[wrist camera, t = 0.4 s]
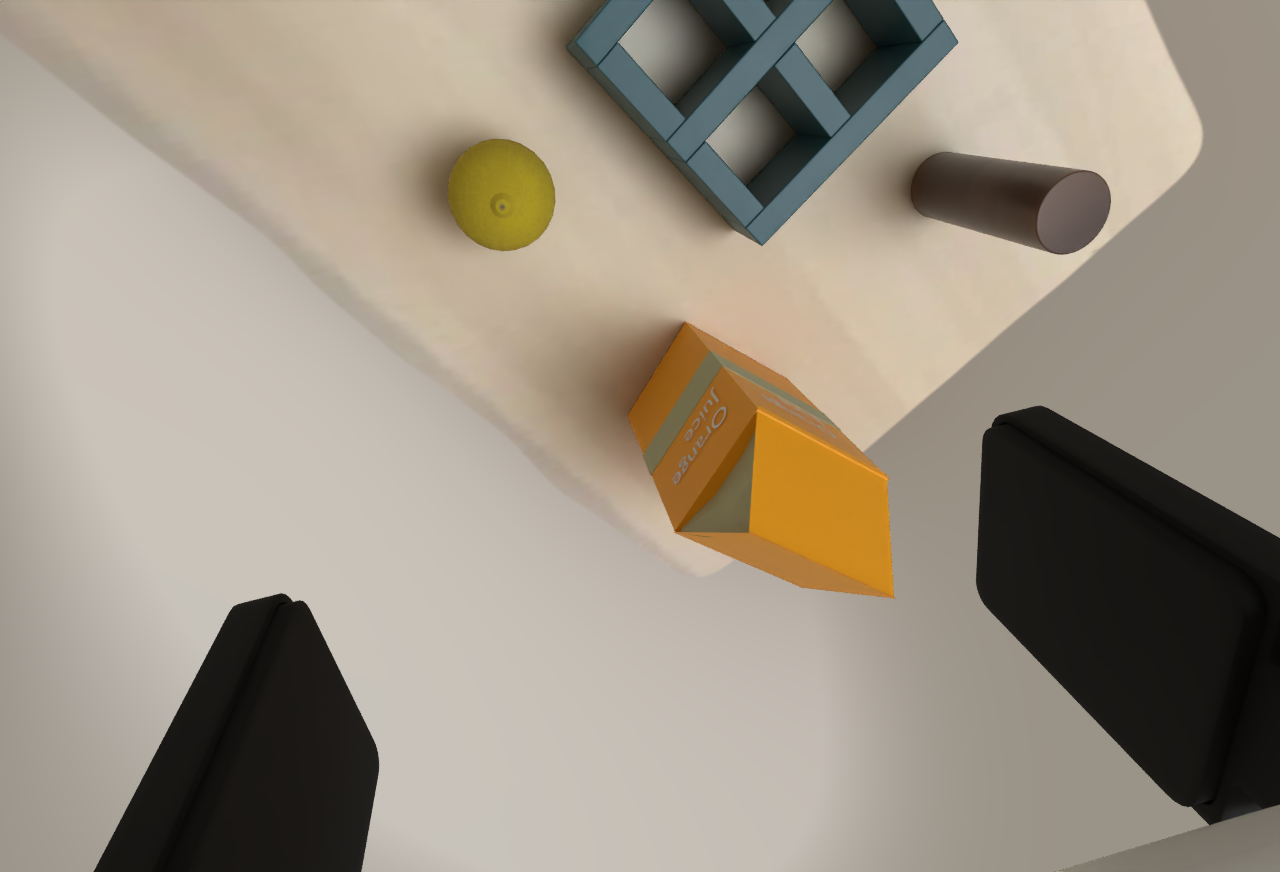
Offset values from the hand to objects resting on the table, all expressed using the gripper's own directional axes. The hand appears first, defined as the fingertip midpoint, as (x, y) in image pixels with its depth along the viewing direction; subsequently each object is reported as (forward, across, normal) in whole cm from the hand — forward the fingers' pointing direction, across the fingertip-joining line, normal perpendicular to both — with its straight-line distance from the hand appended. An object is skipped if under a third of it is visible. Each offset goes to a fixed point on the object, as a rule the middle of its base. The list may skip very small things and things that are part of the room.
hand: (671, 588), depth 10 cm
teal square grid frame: (+36, -13, -6) cm, 39 cm away
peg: (+36, -25, +3) cm, 45 cm away
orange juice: (+37, -8, +14) cm, 40 cm away
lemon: (+37, +2, -2) cm, 37 cm away
